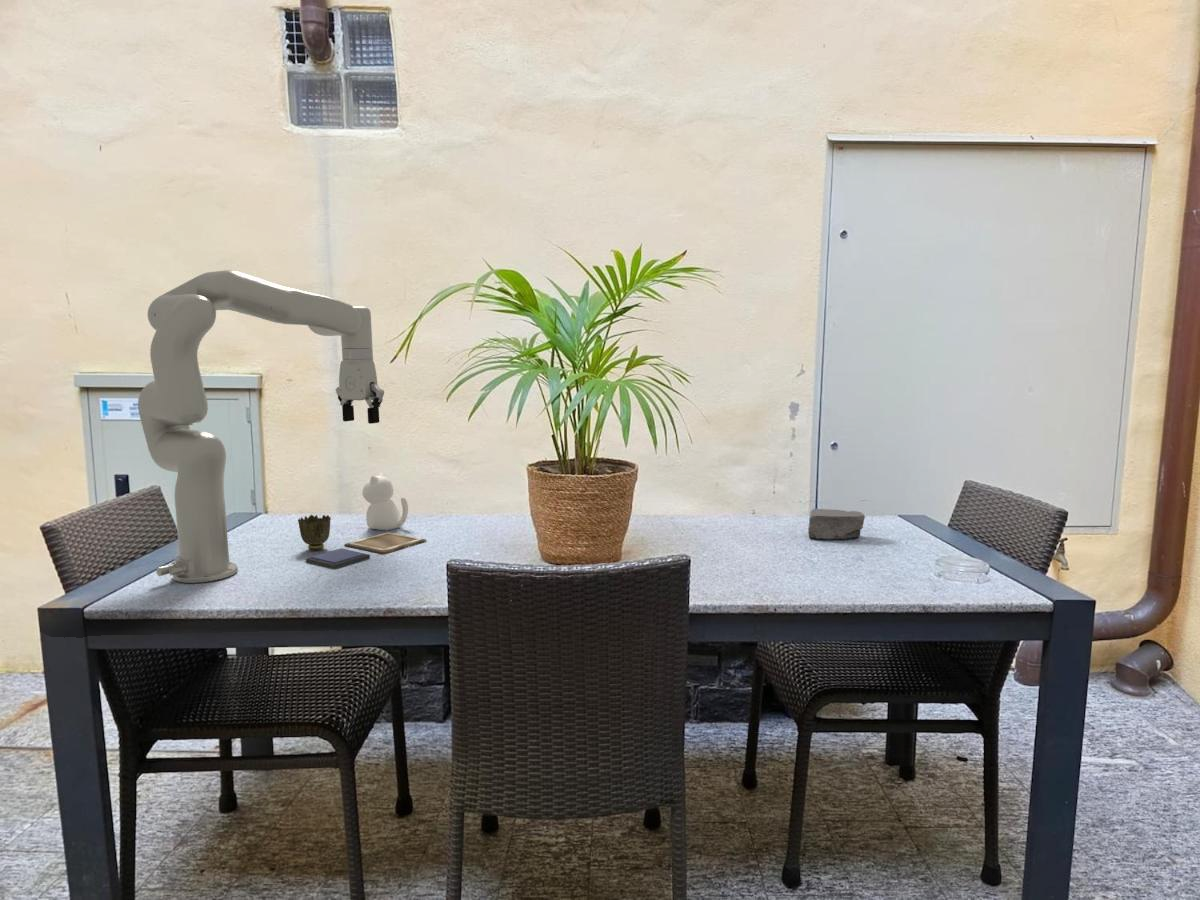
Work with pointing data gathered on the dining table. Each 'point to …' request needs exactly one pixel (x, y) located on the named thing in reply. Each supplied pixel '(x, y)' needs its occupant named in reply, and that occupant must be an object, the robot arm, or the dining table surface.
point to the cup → (315, 531)
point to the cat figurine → (383, 504)
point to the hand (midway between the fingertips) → (361, 422)
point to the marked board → (385, 542)
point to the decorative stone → (835, 524)
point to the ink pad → (337, 558)
